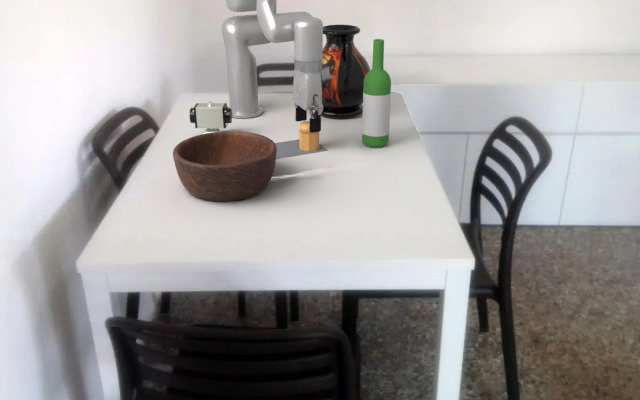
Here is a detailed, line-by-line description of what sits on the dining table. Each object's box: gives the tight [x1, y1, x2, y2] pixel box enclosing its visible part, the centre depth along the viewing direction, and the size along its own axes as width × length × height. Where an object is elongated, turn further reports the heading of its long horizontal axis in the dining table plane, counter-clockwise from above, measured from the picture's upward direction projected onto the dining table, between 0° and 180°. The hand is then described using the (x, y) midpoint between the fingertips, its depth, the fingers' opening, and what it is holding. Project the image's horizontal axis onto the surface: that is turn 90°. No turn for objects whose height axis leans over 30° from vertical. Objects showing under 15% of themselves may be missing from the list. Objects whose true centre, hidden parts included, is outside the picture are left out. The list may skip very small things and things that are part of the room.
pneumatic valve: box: [189, 100, 233, 134], centre depth 187 cm, size 6×12×12 cm, turn 89°
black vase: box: [314, 24, 371, 120], centre depth 209 cm, size 22×22×28 cm
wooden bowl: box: [172, 130, 277, 202], centre depth 157 cm, size 25×25×10 cm
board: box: [274, 138, 329, 160], centre depth 179 cm, size 12×18×6 cm, turn 115°
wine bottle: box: [361, 38, 392, 148], centre depth 180 cm, size 8×8×30 cm
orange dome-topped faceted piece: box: [298, 120, 320, 151], centre depth 179 cm, size 5×5×7 cm
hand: (308, 126), depth 178 cm, fingers open, 9 cm apart
